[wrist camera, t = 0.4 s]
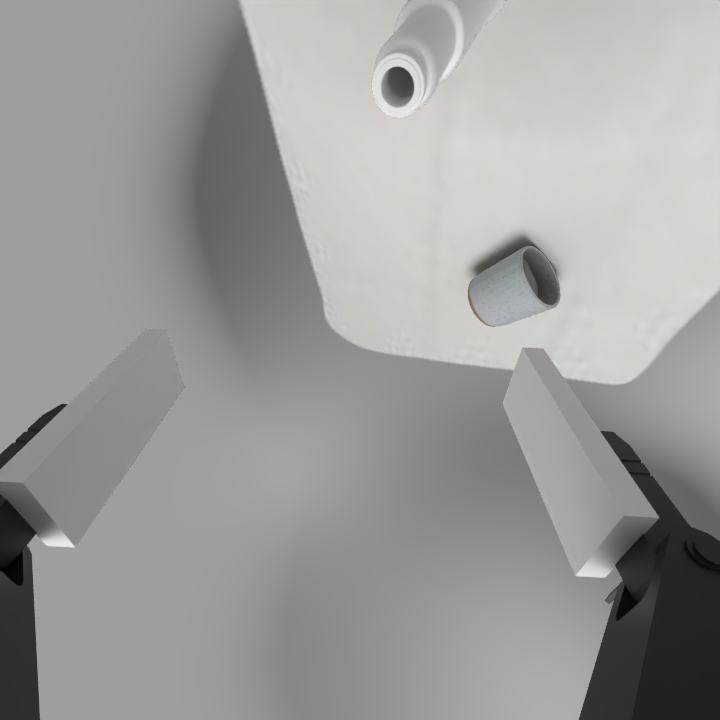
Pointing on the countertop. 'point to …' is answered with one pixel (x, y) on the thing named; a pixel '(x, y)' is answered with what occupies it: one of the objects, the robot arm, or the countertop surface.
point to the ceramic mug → (514, 288)
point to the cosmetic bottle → (426, 50)
